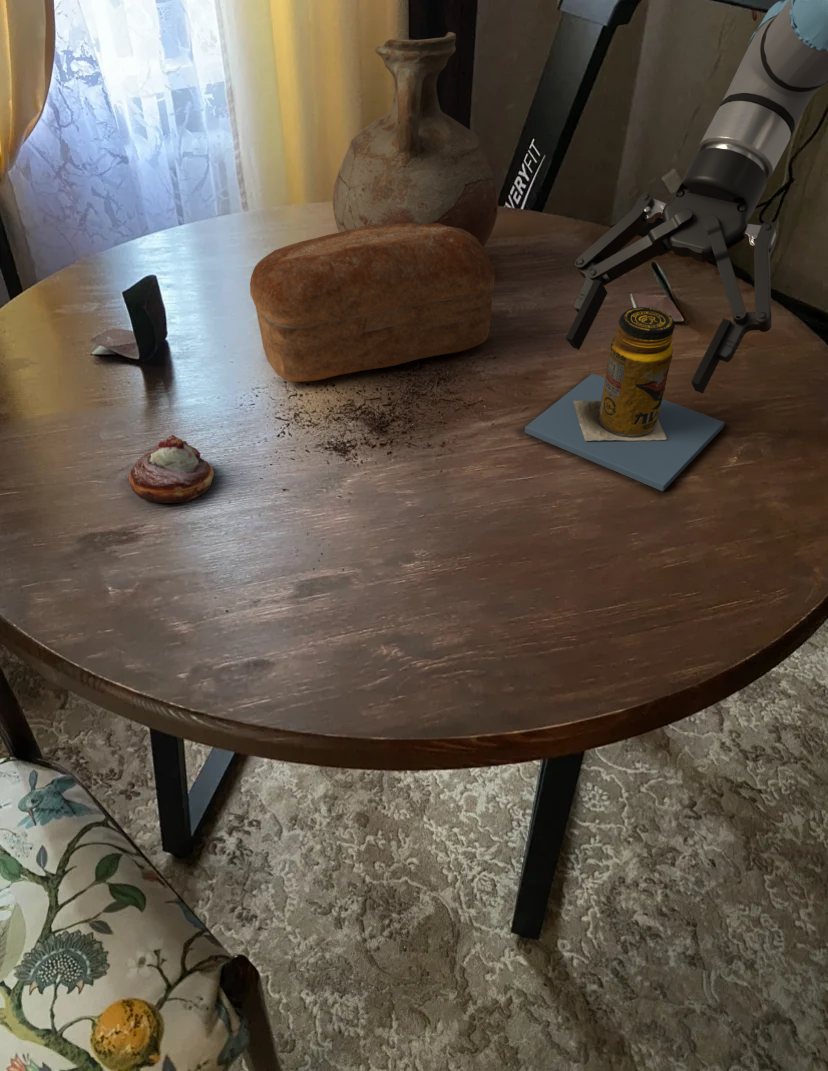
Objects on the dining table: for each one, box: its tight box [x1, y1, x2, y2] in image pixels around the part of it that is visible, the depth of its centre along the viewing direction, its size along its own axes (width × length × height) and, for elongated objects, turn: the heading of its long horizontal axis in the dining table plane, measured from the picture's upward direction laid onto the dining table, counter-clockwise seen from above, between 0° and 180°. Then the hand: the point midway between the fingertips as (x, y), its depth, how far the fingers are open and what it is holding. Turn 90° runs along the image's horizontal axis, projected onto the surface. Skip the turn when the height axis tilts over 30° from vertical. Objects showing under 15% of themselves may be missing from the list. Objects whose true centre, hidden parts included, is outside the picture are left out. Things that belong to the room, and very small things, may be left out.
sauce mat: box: [524, 373, 725, 492], centre depth 89 cm, size 16×14×1 cm
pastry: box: [128, 434, 215, 504], centre depth 81 cm, size 8×8×5 cm
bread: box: [249, 223, 496, 383], centre depth 97 cm, size 12×28×14 cm, turn 111°
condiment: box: [573, 306, 676, 441], centre depth 85 cm, size 7×8×12 cm
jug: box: [332, 31, 499, 248], centre depth 107 cm, size 22×22×30 cm
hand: (632, 365), depth 83 cm, fingers open, 13 cm apart
